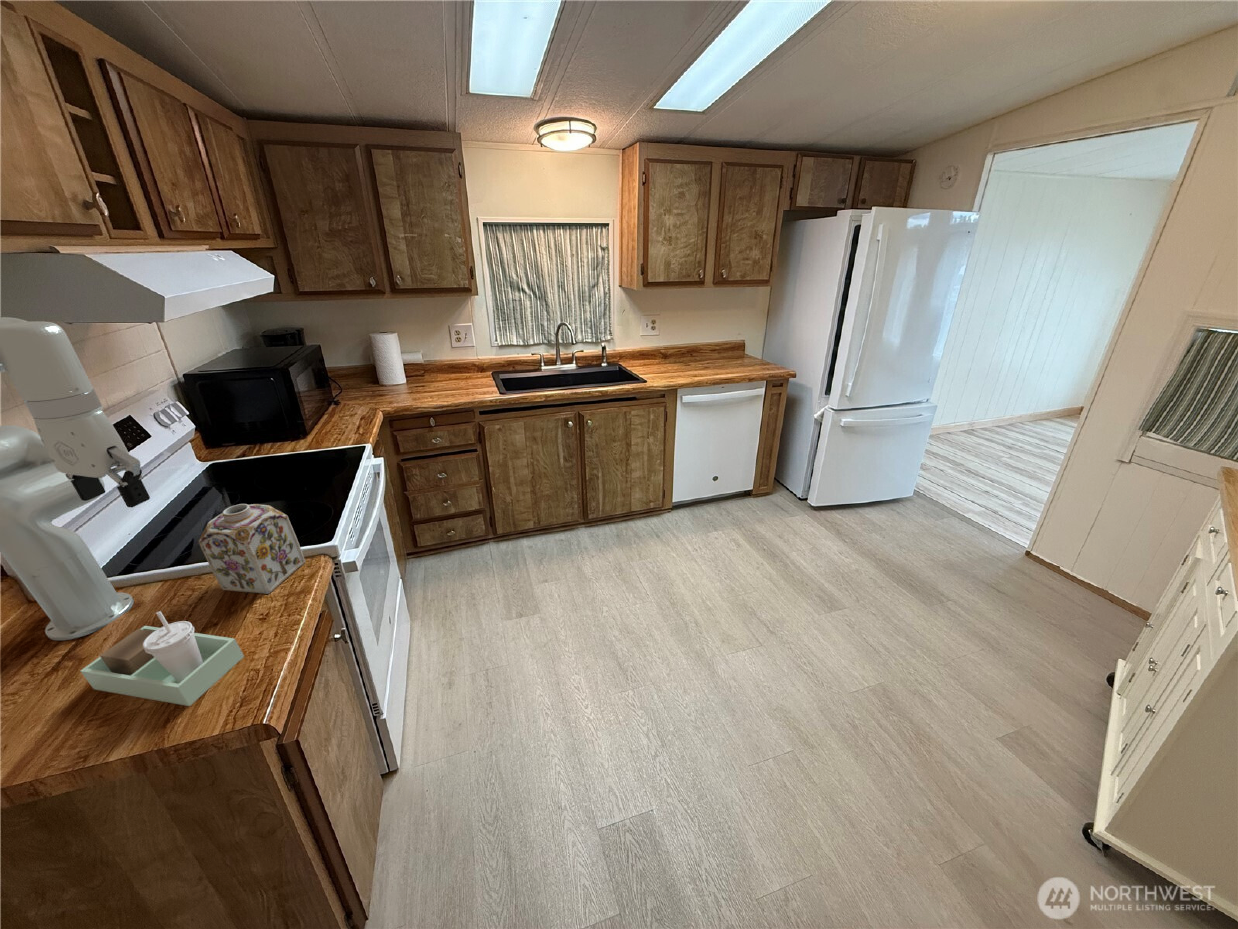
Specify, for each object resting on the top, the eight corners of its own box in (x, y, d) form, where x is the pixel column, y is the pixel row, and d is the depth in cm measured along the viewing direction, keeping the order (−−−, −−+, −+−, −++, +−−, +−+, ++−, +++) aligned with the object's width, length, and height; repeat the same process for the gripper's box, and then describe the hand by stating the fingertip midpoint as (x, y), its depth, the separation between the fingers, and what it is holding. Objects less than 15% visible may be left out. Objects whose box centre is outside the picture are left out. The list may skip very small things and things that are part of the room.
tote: (95, 691, 81) (80, 670, 79) (157, 645, 90) (144, 625, 88) (191, 708, 78) (177, 687, 76) (245, 658, 87) (234, 638, 85)
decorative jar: (220, 592, 104) (185, 522, 96) (263, 559, 114) (234, 493, 106) (270, 595, 102) (238, 525, 94) (308, 562, 112) (282, 496, 105)
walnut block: (117, 680, 83) (99, 655, 80) (153, 653, 88) (137, 629, 85) (145, 685, 82) (128, 660, 79) (179, 657, 87) (165, 633, 84)
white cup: (223, 659, 86) (191, 600, 80) (197, 690, 80) (159, 629, 74) (187, 661, 86) (152, 602, 80) (158, 692, 80) (117, 631, 74)
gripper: (-9, 408, 72) (50, 505, 80) (79, 418, 69) (132, 517, 77) (53, 393, 79) (102, 484, 86) (136, 401, 75) (179, 494, 83)
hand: (116, 500), depth 81 cm, fingers open, 9 cm apart
